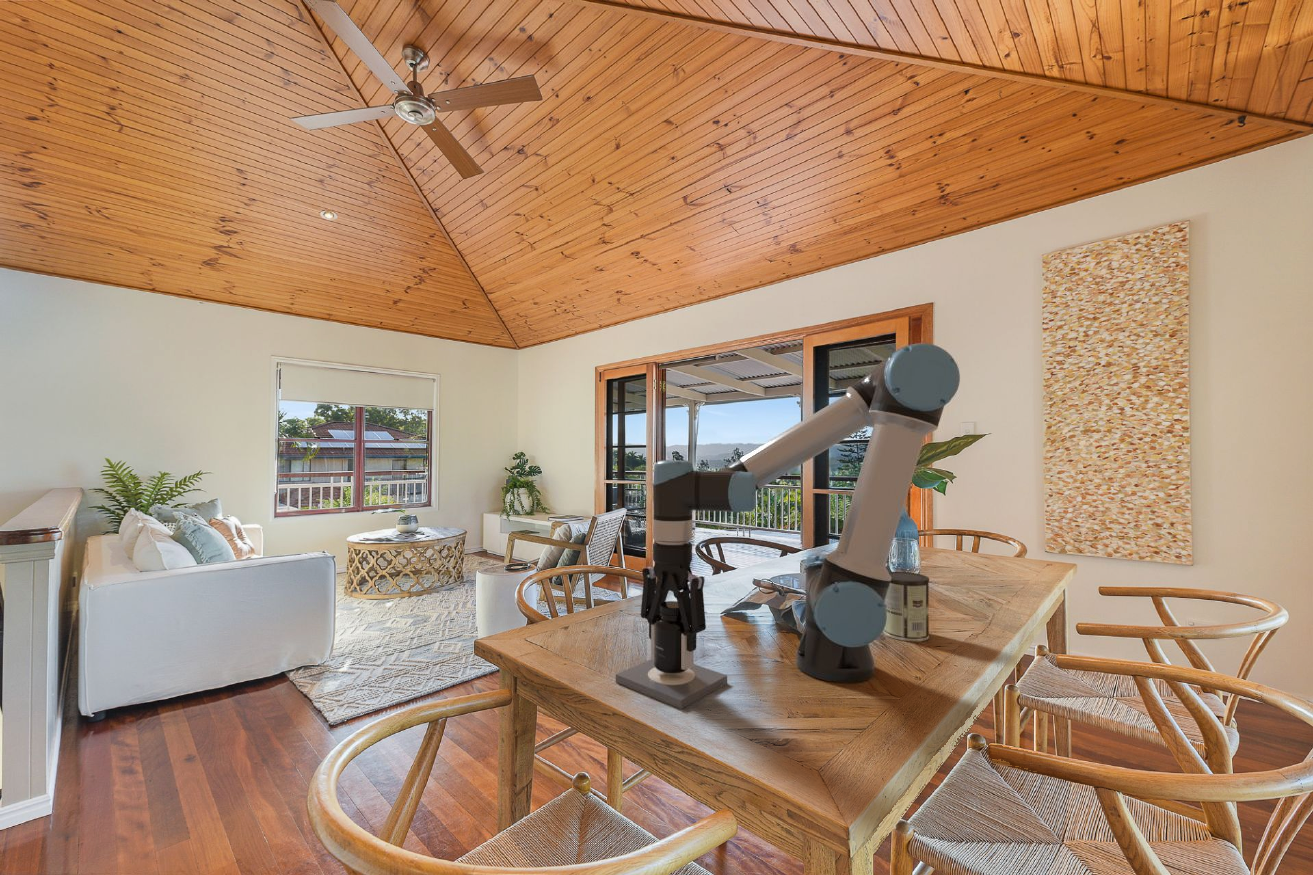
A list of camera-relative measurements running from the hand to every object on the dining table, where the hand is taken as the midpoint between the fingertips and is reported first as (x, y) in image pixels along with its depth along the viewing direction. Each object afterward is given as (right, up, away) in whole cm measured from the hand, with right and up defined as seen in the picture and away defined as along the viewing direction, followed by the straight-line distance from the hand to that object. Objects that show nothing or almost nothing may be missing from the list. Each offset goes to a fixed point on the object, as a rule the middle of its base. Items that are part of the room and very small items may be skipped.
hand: (671, 661), depth 107 cm
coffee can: (+57, -5, +28) cm, 64 cm away
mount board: (0, -4, 0) cm, 4 cm away
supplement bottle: (0, -1, 0) cm, 1 cm away
